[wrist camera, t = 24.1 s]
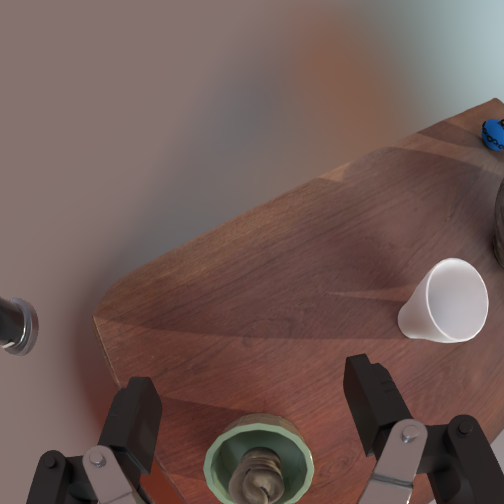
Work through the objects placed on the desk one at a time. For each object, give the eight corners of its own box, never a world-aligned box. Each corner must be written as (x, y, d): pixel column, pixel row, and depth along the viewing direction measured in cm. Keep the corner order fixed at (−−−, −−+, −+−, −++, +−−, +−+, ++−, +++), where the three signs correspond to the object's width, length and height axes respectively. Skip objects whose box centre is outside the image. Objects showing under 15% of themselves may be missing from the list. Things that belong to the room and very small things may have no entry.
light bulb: (258, 477, 33) (253, 523, 19) (232, 453, 35) (214, 491, 21) (288, 454, 35) (297, 493, 21) (261, 430, 36) (257, 460, 22)
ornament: (503, 151, 55) (520, 129, 45) (493, 161, 53) (512, 137, 44) (482, 129, 58) (497, 105, 48) (471, 137, 56) (487, 111, 47)
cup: (398, 363, 39) (444, 357, 26) (374, 302, 43) (412, 274, 30) (447, 335, 40) (498, 318, 27) (425, 279, 44) (468, 247, 31)
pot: (200, 460, 35) (184, 479, 27) (247, 397, 39) (242, 403, 30) (272, 501, 32) (272, 527, 24) (321, 438, 36) (334, 454, 27)
